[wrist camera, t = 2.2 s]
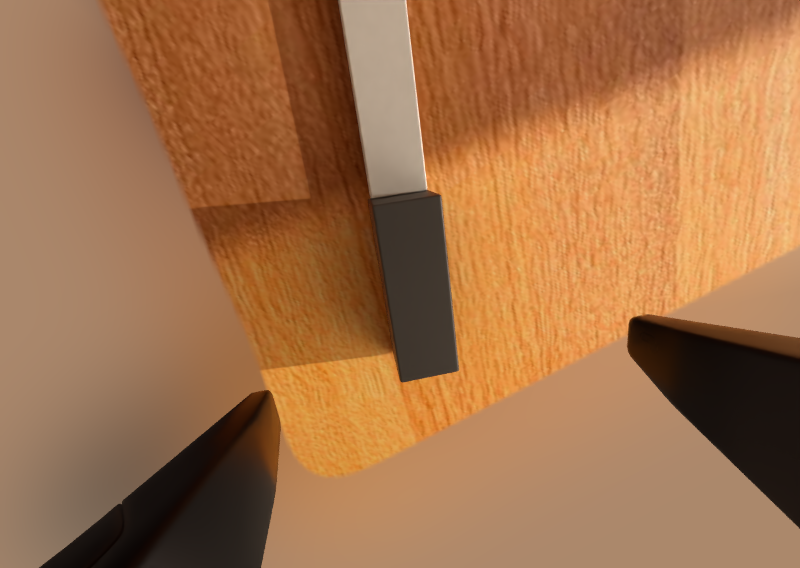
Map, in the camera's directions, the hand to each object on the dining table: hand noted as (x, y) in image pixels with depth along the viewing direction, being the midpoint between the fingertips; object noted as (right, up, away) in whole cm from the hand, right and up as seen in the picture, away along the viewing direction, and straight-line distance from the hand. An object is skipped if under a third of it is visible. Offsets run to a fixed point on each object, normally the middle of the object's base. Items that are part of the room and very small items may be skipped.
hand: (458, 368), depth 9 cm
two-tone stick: (-2, +7, +5) cm, 9 cm away
